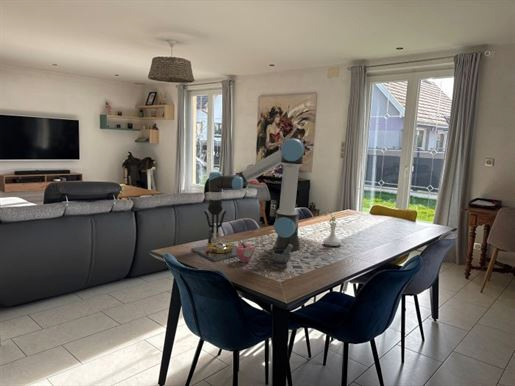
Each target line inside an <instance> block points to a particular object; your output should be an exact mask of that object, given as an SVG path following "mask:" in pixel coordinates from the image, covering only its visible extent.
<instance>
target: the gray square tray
mask: <svg viewBox="0 0 515 386" xmlns="http://www.w3.org/2000/svg"><path fill="white" fill-rule="evenodd" d="M215 243H216V244H215V247H216V248H219V246H222V248H226V244H225V243H228V244H232V251H230V252H227V253H226V252H225V253H217V252H216V253H214V252H211V251H209V246H208V244H207V245H202V246H201V245H200V246H197V247H192V248H191V249H190V250H191V251H192V252H194V253H196V254H198V255H200V256H202V257H204V258H206V259H209V260H210V261H213V262H219V261H223V260H227V259H233V258H238V256H237V253H236V249H237V247H239V246H237V245H235V244H233V243H231V242H227V241H224V242H223V241H222V243H219V242H215Z"/></svg>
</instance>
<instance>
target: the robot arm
mask: <svg viewBox="0 0 515 386" xmlns="http://www.w3.org/2000/svg"><path fill="white" fill-rule="evenodd" d="M305 146H306V145H305V143H304V142H303V140H301V139H299V138H292V137H291V138H288V139H286V140H285V141H283V143H282V144H281V147H279V148H278V150H277V151H275V152H273V153H272V154H270V155H268V156H266V157H264V158H263V159H261V160H259V161H257V162H256V163H254V164H251V166H249V167H247V168H244V170H242V171H240V172H238V173H237V174H234V175H230V176H227V175H223V173H222V172H221V171H210V172H209V175H208V207H207V209H205V210H204V211H203V213H204V214H205V216H206V221H207V225H208V228H211V230H212V234H213V240H217V234H219V228H222V226H223V223H224V218H225V215H226V214H227V210H225V209H224V208H223V206H222V205H223V202H222V201H223V200H222V198H223V190H230V191H231V190H234V191H241V190H242V189H243V188H244V185H246V184H248V183H249V182H251V181H253V180H255V179H256V178H259V177H260V176H262V175H263V174H265V173H268V172H270V171H271V170H273V169H275V168H277V167H279V166H280V165H282V167H283V168H282V176H281V177H282V179H281V189H280V198H279V199H280V200H279V208H278V209H277V210H276V213H275V214H276V215H275V222H274V223H273V230H274V233H275V234H276V235H277V237H276V241H275V243H274V248H275V249H276V250H286V248H287V247H288V244H291V245H293V248H292V249H291V251H290V252H292V251H297V250H300V249H301V243H300V238H299V216H300V214H299V210H297V209H296V204H297V203H296V201H297V190H298V181H299V172H300V168H301V166H303V159H304V155H305V151H306V147H305ZM209 213H210V215H211V220H210V216H209ZM220 214H221V216H220ZM215 216H216V217H215ZM219 217H220V220H219Z"/></svg>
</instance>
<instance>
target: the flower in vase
mask: <svg viewBox="0 0 515 386" xmlns="http://www.w3.org/2000/svg"><path fill="white" fill-rule="evenodd" d="M332 208H333V205H330V206H329V209H327V210H326V212H325V213H324V216H323V217H327V216H328V215H329V213H330V216H331V219H329V222H328V224H329V225H330V234H329V235H328V236H326V237H325V238H324V239H323V240H322V242H323V244H324V245H326V246H330V247H331V246H332V247H337V246H341V245H342V241H341V239H340V238H338V236H336V234H335V231H336V228H337V225H338V222H335V221H336V217H335V216H333V215H332V212H331V211H332Z"/></svg>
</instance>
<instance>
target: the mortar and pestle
mask: <svg viewBox="0 0 515 386" xmlns="http://www.w3.org/2000/svg"><path fill="white" fill-rule="evenodd" d="M292 248H293V245H291V244H288V247H287V248H286V250H280V249H275V250H272V252H271V257H272V260H273V261H274V265H275V267H279V268H285V267H287V266H288V262H289V261H290V260H291V257H292V251H291V249H292Z"/></svg>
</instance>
